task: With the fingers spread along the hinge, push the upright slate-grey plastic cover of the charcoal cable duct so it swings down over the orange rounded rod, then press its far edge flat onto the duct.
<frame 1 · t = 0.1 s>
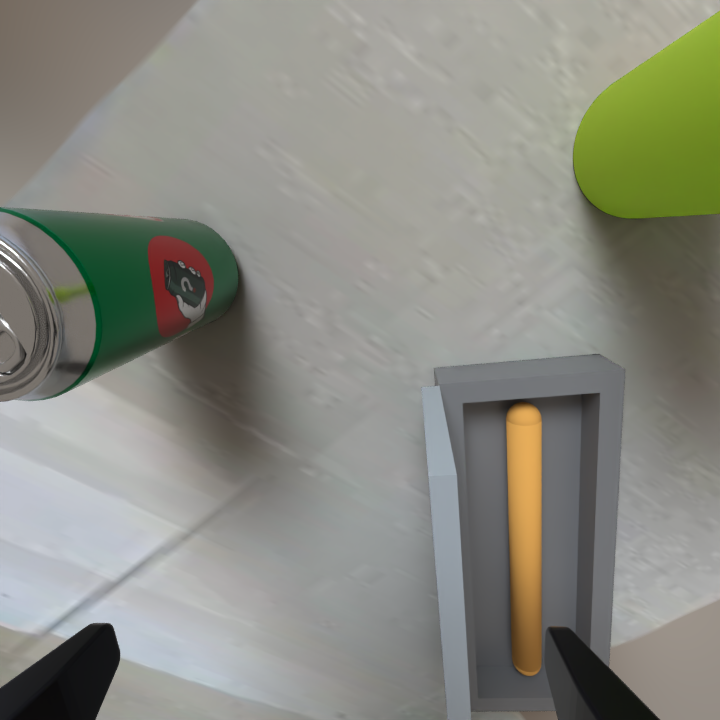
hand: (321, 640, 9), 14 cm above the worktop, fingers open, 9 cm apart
duct cover: (450, 635, 19), point 6 cm above the worktop, hinge at 92.0°
soap dispenser: (652, 138, 19), on the worktop
soda can: (194, 272, 22), on the worktop
cable duct: (518, 532, 24), on the worktop
orange rounded rod: (525, 549, 23), point 1 cm above the worktop, touching cable duct
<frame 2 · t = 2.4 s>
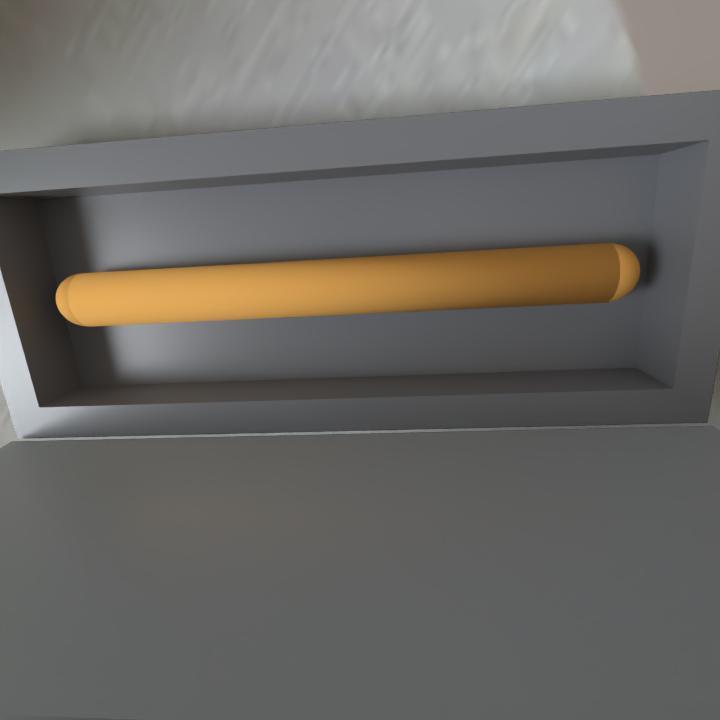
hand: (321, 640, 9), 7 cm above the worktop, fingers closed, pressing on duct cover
duct cover: (317, 537, 9), point 6 cm above the worktop, hinge at 91.8°, touching gripper
cable duct: (339, 282, 14), on the worktop
orange rounded rod: (333, 287, 13), point 1 cm above the worktop, touching cable duct
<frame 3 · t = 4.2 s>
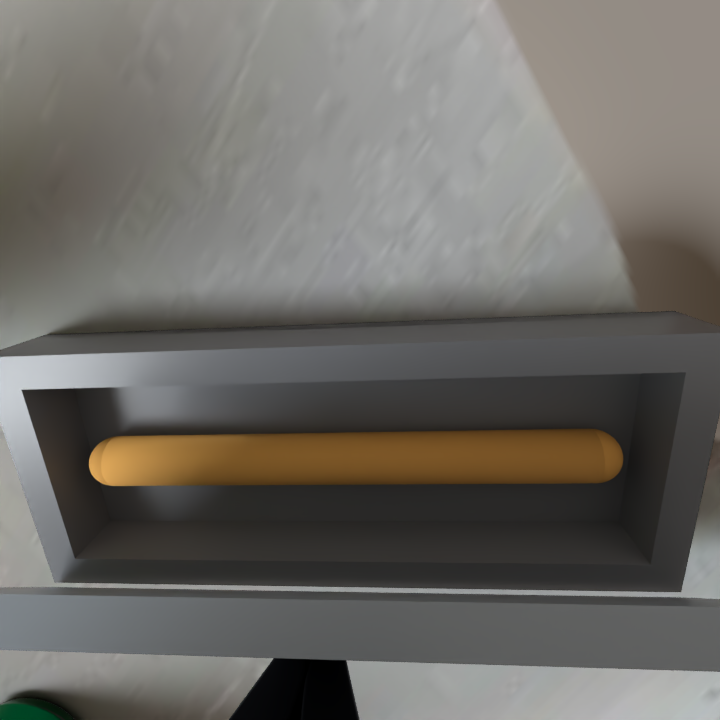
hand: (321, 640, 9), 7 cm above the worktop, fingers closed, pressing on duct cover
duct cover: (328, 613, 10), point 6 cm above the worktop, hinge at 44.7°, touching gripper
cable duct: (347, 436, 15), on the worktop
orange rounded rod: (343, 458, 14), point 1 cm above the worktop, touching cable duct
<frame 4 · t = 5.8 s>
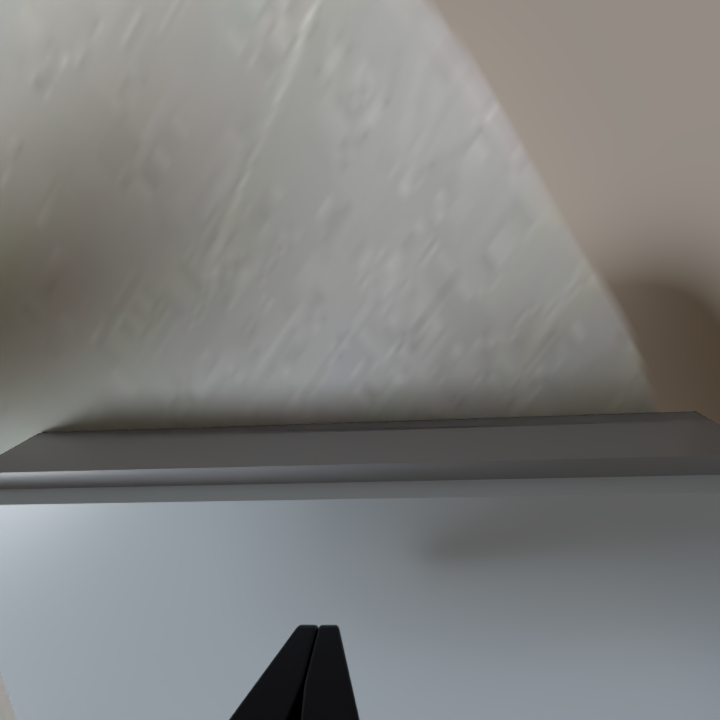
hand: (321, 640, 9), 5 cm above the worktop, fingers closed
duct cover: (345, 617, 12), point 3 cm above the worktop, hinge at -1.8°, touching cable duct
cable duct: (354, 535, 14), on the worktop
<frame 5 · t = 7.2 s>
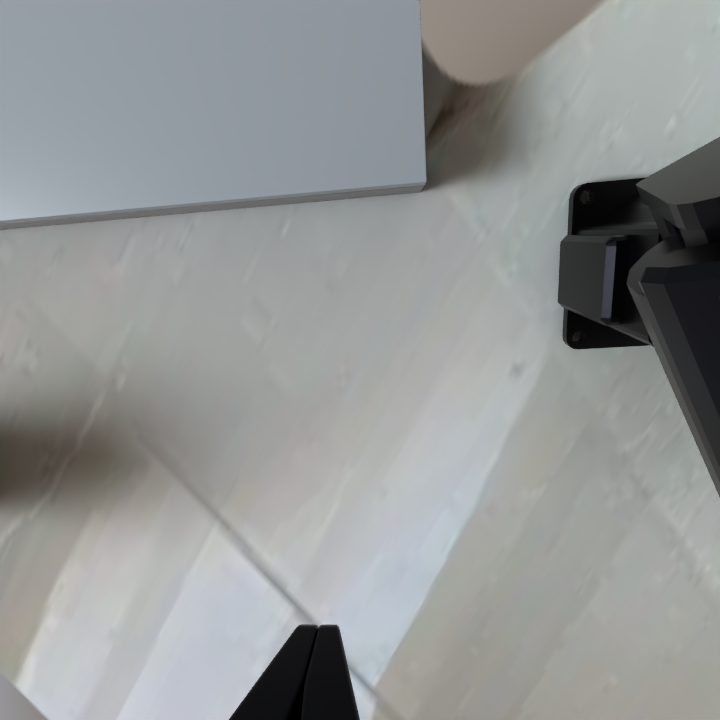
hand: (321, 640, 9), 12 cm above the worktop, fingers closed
duct cover: (119, 91, 15), point 3 cm above the worktop, hinge at -1.5°
cable duct: (163, 108, 17), on the worktop
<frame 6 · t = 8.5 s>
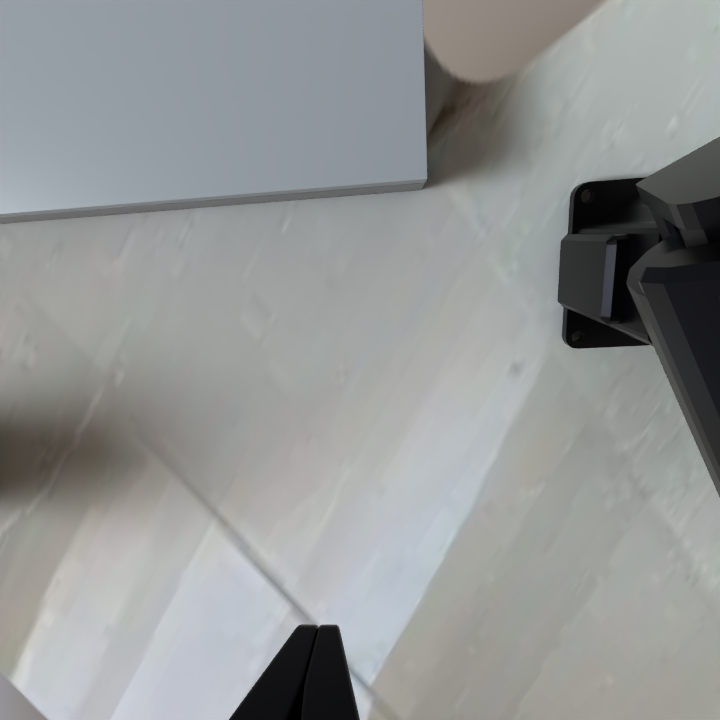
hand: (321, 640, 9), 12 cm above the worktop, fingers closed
duct cover: (120, 85, 15), point 3 cm above the worktop, hinge at -1.5°
cable duct: (164, 103, 17), on the worktop
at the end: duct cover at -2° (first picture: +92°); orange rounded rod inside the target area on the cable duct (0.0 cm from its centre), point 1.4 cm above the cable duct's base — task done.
